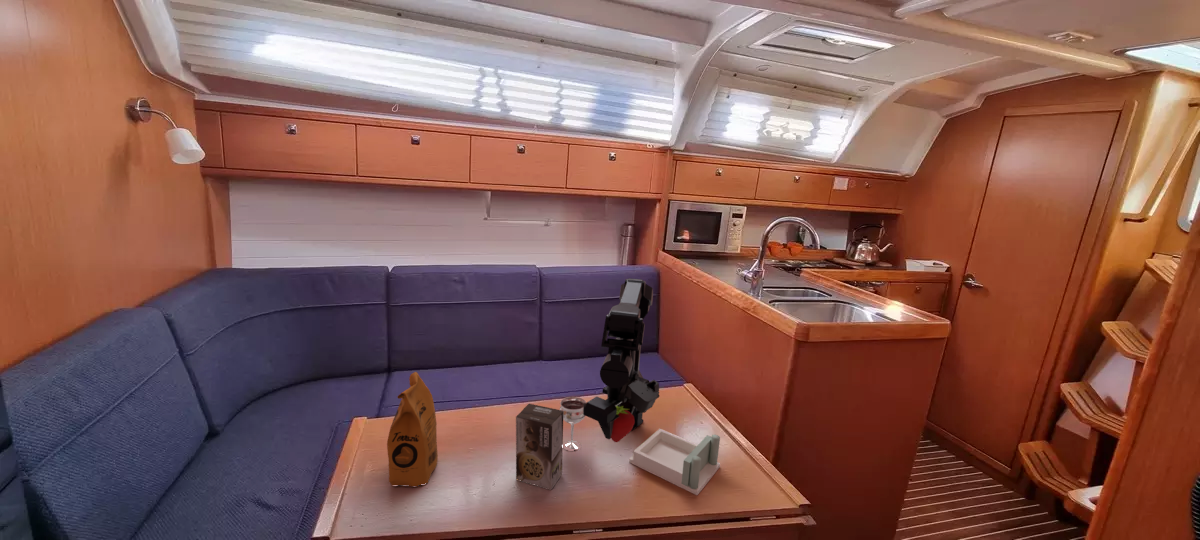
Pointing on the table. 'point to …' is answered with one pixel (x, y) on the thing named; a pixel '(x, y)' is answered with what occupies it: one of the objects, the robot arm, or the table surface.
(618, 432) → the strawberry
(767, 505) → the table surface
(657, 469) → the cradle stand
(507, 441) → the table surface
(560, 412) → the coffee box
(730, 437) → the table surface
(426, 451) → the coffee package
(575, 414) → the wineglass
